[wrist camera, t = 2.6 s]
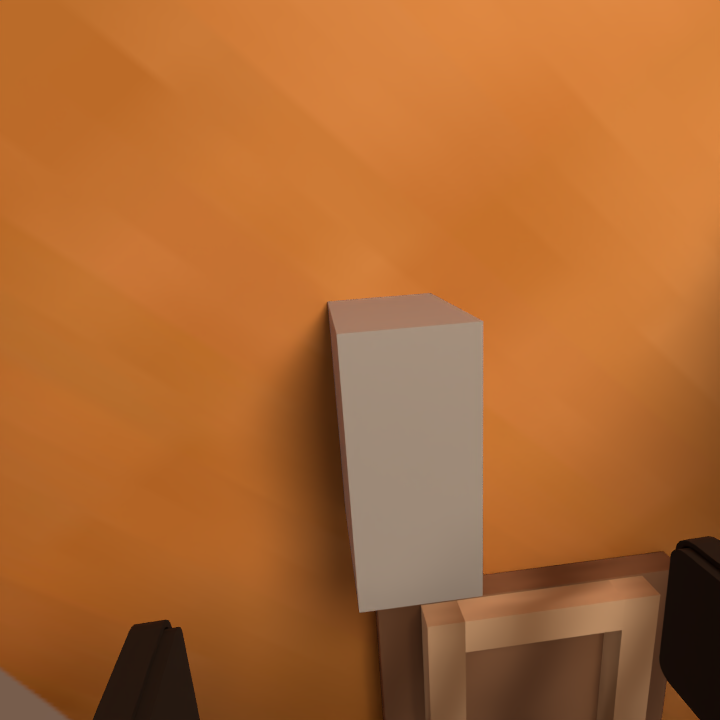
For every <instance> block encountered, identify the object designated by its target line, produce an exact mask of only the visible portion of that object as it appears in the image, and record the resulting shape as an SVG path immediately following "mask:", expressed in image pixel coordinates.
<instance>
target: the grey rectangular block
mask: <svg viewBox="0 0 720 720" xmlns="http://www.w3.org/2000/svg"><path fill="white" fill-rule="evenodd" d="M328 312H329V324H330V335H331V347H332V359H333V371H334V382H335V394H336V406H337V418H338V429H339V441H340V453H341V465H342V476H343V488H344V500H345V511H346V518H347V525H348V533H349V540H350V548H351V555H352V562H353V570H354V577H355V585H356V592H357V599H358V607H359V613H361V612H368V611H376V610H383V609H390V608H398V607H405V606H412V605H420V604H427V603H435V602H442V601H449V600H457V599H464V598H471V597H479V596H483V321H482V320H480V319H478V318H476V317H474V316H472V315H470V314H469V313H467V312H465V311H463V310H461V309H459V308H457V307H455V306H454V305H452V304H450V303H448V302H446V301H444V300H442V299H440V298H439V297H437V296H435V295H433V294H431V293H426V294H414V295H402V296H389V297H377V298H365V299H353V300H341V301H328Z"/></svg>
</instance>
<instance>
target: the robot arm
mask: <svg viewBox="0 0 720 720" xmlns="http://www.w3.org/2000/svg"><path fill="white" fill-rule="evenodd" d="M659 663H660V667H661V670H662V672H663V674H664V676H665V678H666V679H667V681H668V682H669V683H670V685H671V686H672V687H673V688H674V689H675V691H676V692H677V693H678V694H679V695H680V696H681V698H682V699H683V700H684V701H685V702H686V704H687V705H688V706H689V707H690V708H691V710H692V711H693V712H694V713H695V714H696V716H697V717H698V718H699V719H700V720H720V540H718V539H716V538H714V537H709V536H708V537H701V538H695V539H688V540H683V541H680V542H679V543H678V544H677V546H676V550H674V551H673V552H672V553H671V557H670V566H669V575H668V584H667V593H666V601H665V610H664V619H663V628H662V637H661V646H660V654H659ZM93 720H200V718H199V713H198V708H197V703H196V698H195V693H194V688H193V683H192V678H191V673H190V668H189V663H188V658H187V653H186V648H185V643H184V638H183V633H182V629H181V628H180V627H176V628H172V627H171V624H170V622H169V620H161V621H155V622H148V623H142V624H135V625H133V626H132V627H131V629H130V631H129V633H128V636H127V638H126V640H125V643H124V645H123V648H122V650H121V653H120V655H119V657H118V660H117V662H116V665H115V667H114V669H113V672H112V674H111V677H110V679H109V682H108V684H107V686H106V689H105V691H104V694H103V696H102V699H101V701H100V703H99V706H98V708H97V711H96V713H95V716H94V718H93Z"/></svg>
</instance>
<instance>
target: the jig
mask: <svg viewBox="0 0 720 720" xmlns="http://www.w3.org/2000/svg"><path fill="white" fill-rule="evenodd" d="M669 566H670V557H669V556H668V555H666V554H665V553H664V552H655V553H648V554H640V555H632V556H625V557H617V558H609V559H602V560H594V561H587V562H579V563H571V564H564V565H556V566H549V567H541V568H533V569H526V570H518V571H511V572H503V573H495V574H488V575H483V596H479V597H471V598H464V599H457V600H449V601H442V602H435V603H427V604H420V605H412V606H405V607H398V608H390V609H383V610H376V623H377V637H378V651H379V665H380V680H381V694H382V708H383V720H662V712H663V705H664V697H665V689H666V682H667V679H666V678H665V676H664V674H663V672H662V670H661V667H660V663H659V654H660V646H661V637H662V628H663V619H664V610H665V601H666V593H667V584H668V575H669Z"/></svg>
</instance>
